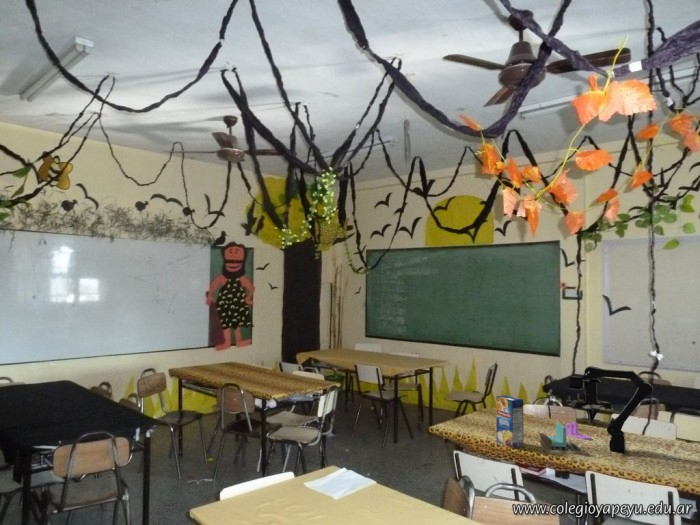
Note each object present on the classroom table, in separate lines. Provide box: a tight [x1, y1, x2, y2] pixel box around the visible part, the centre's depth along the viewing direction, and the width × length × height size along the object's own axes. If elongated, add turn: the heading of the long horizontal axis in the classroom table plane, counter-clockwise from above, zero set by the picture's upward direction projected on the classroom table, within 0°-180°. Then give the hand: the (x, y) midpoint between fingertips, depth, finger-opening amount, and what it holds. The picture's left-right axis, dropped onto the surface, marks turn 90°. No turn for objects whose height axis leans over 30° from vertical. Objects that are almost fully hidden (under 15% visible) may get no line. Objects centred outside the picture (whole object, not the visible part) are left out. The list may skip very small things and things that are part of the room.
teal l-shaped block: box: [546, 421, 567, 447], centre depth 259 cm, size 7×11×9 cm, turn 177°
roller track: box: [538, 432, 585, 455], centre depth 259 cm, size 18×13×6 cm
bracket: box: [565, 421, 592, 441], centre depth 282 cm, size 13×6×7 cm, turn 32°
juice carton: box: [495, 394, 525, 449], centre depth 266 cm, size 12×8×24 cm, turn 25°
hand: (591, 421), depth 264 cm, fingers closed
